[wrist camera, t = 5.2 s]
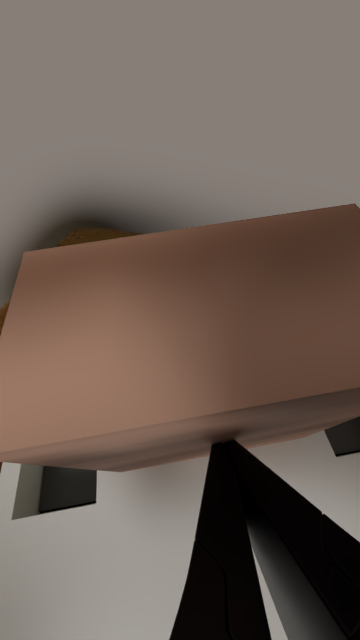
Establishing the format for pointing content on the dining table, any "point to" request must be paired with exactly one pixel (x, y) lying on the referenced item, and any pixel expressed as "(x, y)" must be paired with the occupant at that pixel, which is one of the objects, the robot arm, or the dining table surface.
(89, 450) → the terracotta block
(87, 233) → the dining table surface
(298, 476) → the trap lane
